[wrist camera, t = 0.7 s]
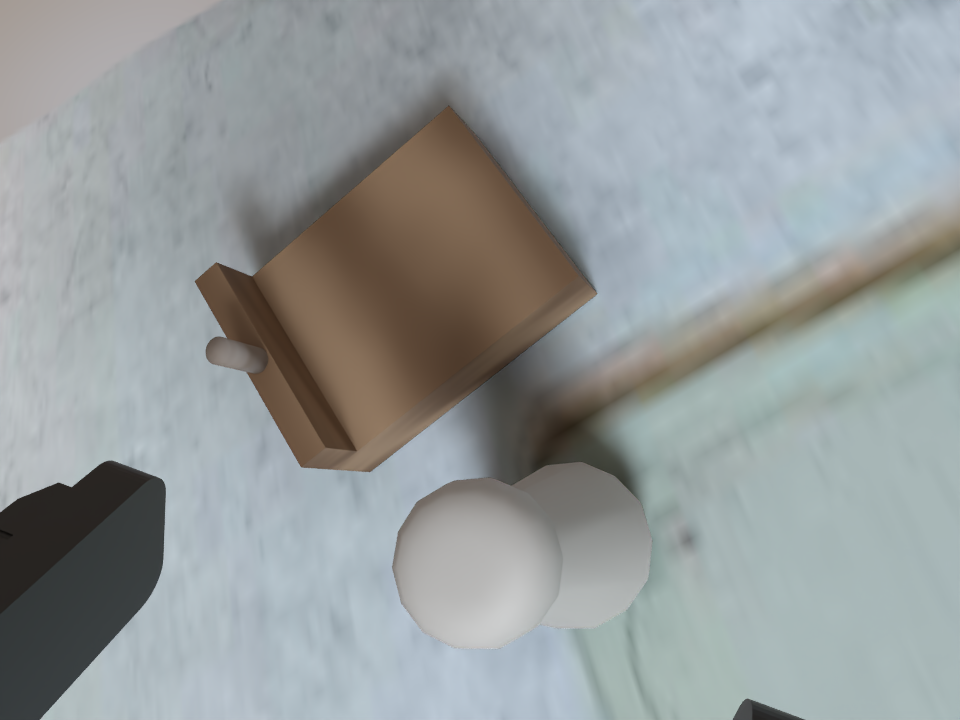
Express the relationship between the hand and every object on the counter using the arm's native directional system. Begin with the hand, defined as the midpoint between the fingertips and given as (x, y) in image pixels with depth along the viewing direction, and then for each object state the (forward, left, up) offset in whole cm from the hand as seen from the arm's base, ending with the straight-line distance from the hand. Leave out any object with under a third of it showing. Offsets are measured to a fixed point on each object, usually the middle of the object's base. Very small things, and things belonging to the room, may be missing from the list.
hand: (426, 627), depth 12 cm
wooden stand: (+3, -14, -22) cm, 27 cm away
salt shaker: (+3, -2, -23) cm, 23 cm away
